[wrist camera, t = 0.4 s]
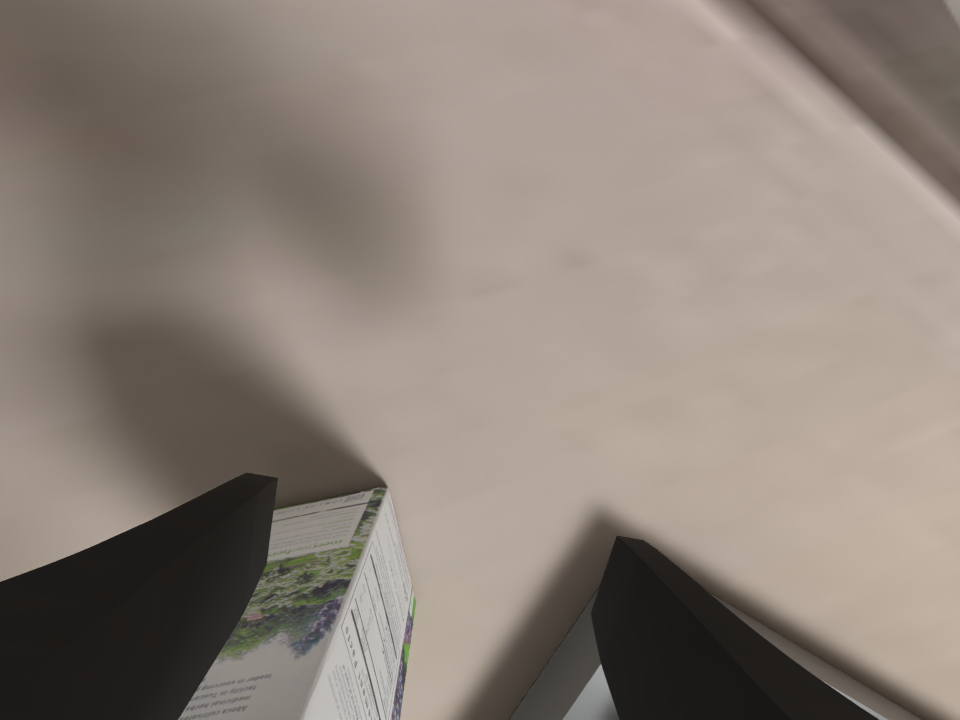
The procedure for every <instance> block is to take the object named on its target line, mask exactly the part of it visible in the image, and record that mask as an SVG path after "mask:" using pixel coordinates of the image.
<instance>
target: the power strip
mask: <svg viewBox="0 0 960 720" xmlns="http://www.w3.org/2000/svg"><path fill="white" fill-rule="evenodd" d="M598 590H599V588H598ZM598 590H597V591H596V593H595V594H594V596H593V597H592V599H591V600H590V602H589V603H588V605H587V606H586V608H585V609H584V610H583V612H582V613H581V615H580V616H579V618H578V619H577V621H576V622H575V624H574V625H573V627H572V628H571V630H570V631H569V632H568V634H567V635H566V637H565V638H564V640H563V641H562V643H561V644H560V646H559V647H558V649H557V650H556V652H555V653H554V654H553V656H552V657H551V659H550V660H549V662H548V663H547V665H546V666H545V668H544V669H543V671H542V672H541V674H540V675H539V676H538V678H537V679H536V681H535V682H534V684H533V685H532V687H531V688H530V690H529V691H528V693H527V694H526V696H525V697H524V698H523V700H522V701H521V703H520V704H519V706H518V707H517V709H516V710H515V712H514V713H513V715H512V716H511V718H510V719H509V720H619V717H618V714H617V711H616V708H615V705H614V702H613V699H612V696H611V693H610V690H609V687H608V684H607V681H606V678H605V675H604V672H603V668H602V665H601V662H600V657H599V653H598V648H597V644H596V639H595V634H594V628H593V623H592V618H591V611H592V608H593V605H594V602H595V599H596V596H597V593H598ZM708 593H709V592H708ZM710 594H711V593H710ZM711 595H712V594H711ZM712 596H713V597H714V598H716V599H717V600H718V601H719V602H720V603H722V604H723V605H724V606H725V607H726V608H728V609H729V610H730V611H731V612H733V613H734V614H735V615H736V616H737V617H739V618H740V619H741V620H742V621H744V622H745V623H746V624H747V625H749V626H750V627H751V628H752V629H754V630H755V631H756V632H757V633H759V634H760V635H761V636H763V637H764V638H765V639H766V640H768V641H769V642H770V643H772V644H773V645H774V646H776V647H777V648H778V649H779V650H781V651H782V652H783V653H785V654H786V655H787V656H789V657H790V658H791V659H793V660H794V661H795V662H797V663H798V664H799V665H801V666H802V667H803V668H805V669H806V670H808V671H809V672H810V673H812V674H813V675H814V676H816V677H817V678H819V679H820V680H822V681H823V682H825V683H826V684H828V685H829V686H830V687H832V688H833V689H835V690H836V691H838V692H839V693H841V694H842V695H843V696H845V697H846V698H848V699H849V700H851V701H852V702H854V703H855V704H856V705H858V706H859V707H861V708H862V709H864V710H865V711H867V712H869V713H870V714H872V715H873V716H875V717H876V718H878V719H879V720H922V719H920V718H919V717H917V716H915V715H914V714H912V713H910V712H909V711H907V710H905V709H904V708H902V707H900V706H899V705H897V704H895V703H894V702H892V701H890V700H888V699H887V698H885V697H883V696H882V695H880V694H878V693H877V692H875V691H873V690H872V689H870V688H868V687H867V686H865V685H863V684H862V683H860V682H858V681H857V680H855V679H853V678H852V677H850V676H848V675H847V674H845V673H843V672H842V671H840V670H838V669H837V668H835V667H833V666H831V665H830V664H828V663H826V662H825V661H823V660H821V659H820V658H818V657H816V656H815V655H813V654H811V653H810V652H808V651H806V650H805V649H803V648H801V647H800V646H798V645H796V644H795V643H793V642H791V641H790V640H788V639H786V638H785V637H783V636H781V635H780V634H778V633H776V632H775V631H773V630H771V629H769V628H768V627H766V626H764V625H763V624H761V623H759V622H758V621H756V620H754V619H753V618H751V617H749V616H748V615H746V614H744V613H743V612H741V611H739V610H738V609H736V608H734V607H733V606H731V605H729V604H728V603H726V602H724V601H723V600H721V599H719V598H718V597H716V596H714V595H712Z"/></svg>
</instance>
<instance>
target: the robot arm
mask: <svg viewBox="0 0 960 720" xmlns="http://www.w3.org/2000/svg"><path fill="white" fill-rule="evenodd" d="M277 481H278V478H274V477H268V476H262V475H257V474H251V473H245V474H243V475H241V476H239V477H236V478H234V479H232V480H230V481H228V482H226V483H224V484H222V485H220V486H218V487H216V488H214V489H213V490H211V491H209V492H207V493H205V494H203V495H201V496H199V497H197V498H195V499H193V500H191V501H189V502H187V503H185V504H183V505H181V506H179V507H177V508H175V509H173V510H171V511H169V512H167V513H165V514H163V515H161V516H159V517H157V518H154V519H152V520H150V521H148V522H146V523H144V524H141V525H139V526H137V527H135V528H132V529H130V530H128V531H126V532H123V533H121V534H119V535H117V536H115V537H112V538H110V539H108V540H106V541H103V542H101V543H99V544H97V545H95V546H92V547H90V548H88V549H85V550H83V551H80V552H78V553H76V554H73V555H71V556H68V557H66V558H63V559H61V560H58V561H56V562H53V563H50V564H48V565H45V566H42V567H40V568H37V569H34V570H32V571H29V572H26V573H24V574H21V575H18V576H15V577H13V578H10V579H7V580H5V581H2V582H0V720H178V719H179V718H180V716H181V715H182V713H183V711H184V710H185V708H186V706H187V705H188V703H189V702H190V700H191V698H192V697H193V695H194V694H195V692H196V690H197V689H198V687H199V685H200V684H201V682H202V681H203V679H204V677H205V676H206V674H207V673H208V671H209V669H210V668H211V666H212V664H213V663H214V661H215V660H216V658H217V656H218V655H219V653H220V652H221V650H222V648H223V647H224V645H225V643H226V642H227V640H228V638H229V637H230V635H231V634H232V632H233V630H234V629H235V627H236V625H237V624H238V622H239V620H240V619H241V617H242V615H243V614H244V612H245V610H246V608H247V605H248V603H249V601H250V599H251V597H252V595H253V593H254V591H255V589H256V587H257V584H258V582H259V580H260V578H261V576H262V573H263V571H264V569H265V567H266V565H267V558H268V550H269V542H270V535H271V527H272V519H273V511H274V504H275V496H276V488H277ZM591 618H592V623H593V628H594V634H595V639H596V644H597V648H598V653H599V657H600V662H601V665H602V668H603V672H604V675H605V678H606V681H607V684H608V687H609V690H610V693H611V696H612V699H613V702H614V705H615V708H616V711H617V714H618V717H619V720H879V719H878V718H876V717H875V716H873V715H872V714H870V713H869V712H867V711H865V710H864V709H862V708H861V707H859V706H858V705H856V704H855V703H854V702H852V701H851V700H849V699H848V698H846V697H845V696H843V695H842V694H841V693H839V692H838V691H836V690H835V689H833V688H832V687H830V686H829V685H828V684H826V683H825V682H823V681H822V680H820V679H819V678H817V677H816V676H814V675H813V674H812V673H810V672H809V671H808V670H806V669H805V668H803V667H802V666H801V665H799V664H798V663H797V662H795V661H794V660H793V659H791V658H790V657H789V656H787V655H786V654H785V653H783V652H782V651H781V650H779V649H778V648H777V647H776V646H774V645H773V644H772V643H770V642H769V641H768V640H766V639H765V638H764V637H763V636H761V635H760V634H759V633H757V632H756V631H755V630H754V629H752V628H751V627H750V626H749V625H747V624H746V623H745V622H744V621H742V620H741V619H740V618H739V617H737V616H736V615H735V614H734V613H733V612H731V611H730V610H729V609H728V608H726V607H725V606H724V605H723V604H722V603H720V602H719V601H718V600H717V599H716V598H714V597H713V596H712V595H711V594H710V593H708V592H707V591H706V590H705V589H704V588H702V587H701V586H700V585H699V584H698V583H697V582H695V581H694V580H693V579H692V578H691V577H689V576H688V575H687V574H686V573H685V572H683V571H682V570H681V569H680V568H679V567H677V566H676V565H675V564H674V563H673V562H671V561H670V560H669V559H668V558H666V557H665V556H664V555H663V554H661V553H660V552H659V551H658V550H656V549H655V548H654V547H652V546H651V545H649V544H648V543H647V542H645V541H644V540H638V539H633V538H627V537H621V536H617V537H616V540H615V543H614V546H613V549H612V552H611V555H610V558H609V561H608V564H607V567H606V570H605V572H604V575H603V578H602V581H601V584H600V587H599V590H598V593H597V596H596V599H595V602H594V605H593V608H592V611H591Z"/></svg>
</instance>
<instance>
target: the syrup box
mask: <svg viewBox="0 0 960 720" xmlns="http://www.w3.org/2000/svg"><path fill="white" fill-rule="evenodd" d="M415 606H416V601H415V597H414V592H413V588H412V584H411V580H410V576H409V572H408V568H407V563H406V559H405V555H404V551H403V547H402V543H401V539H400V534H399V530H398V526H397V521H396V517H395V512H394V508H393V504H392V500H391V495H390V492H389V489H388V487H386V486H384V487H378V488H373V489H368V490H364V491H360V492H355V493H350V494H345V495H341V496H336V497H331V498H327V499H322V500H318V501H312V502H308V503H303V504H298V505H293V506H288V507H283V508H277V509H274V511H273V519H272V527H271V535H270V542H269V550H268V558H267V565H266V567H265V569H264V571H263V573H262V576H261V578H260V580H259V582H258V584H257V587H256V589H255V591H254V593H253V595H252V597H251V599H250V601H249V603H248V605H247V608H246V610H245V612H244V614H243V615H242V617H241V619H240V620H239V622H238V624H237V625H236V627H235V629H234V630H233V632H232V634H231V635H230V637H229V638H228V640H227V642H226V643H225V645H224V647H223V648H222V650H221V652H220V653H219V655H218V656H217V658H216V660H215V661H214V663H213V664H212V666H211V668H210V669H209V671H208V673H207V674H206V676H205V677H204V679H203V681H202V682H201V684H200V685H199V687H198V689H197V690H196V692H195V694H194V695H193V697H192V698H191V700H190V702H189V703H188V705H187V706H186V708H185V710H184V711H183V713H182V715H181V716H180V718H179V719H178V720H400V714H401V706H402V698H403V691H404V683H405V676H406V671H407V662H408V655H409V648H410V642H411V634H412V627H413V620H414V613H415Z"/></svg>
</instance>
